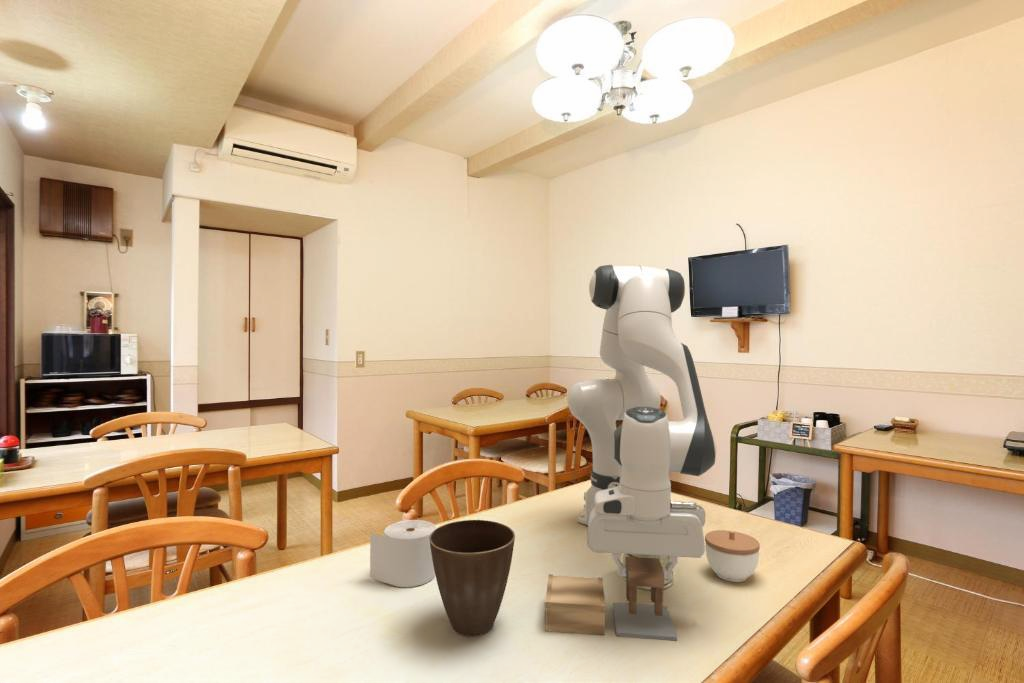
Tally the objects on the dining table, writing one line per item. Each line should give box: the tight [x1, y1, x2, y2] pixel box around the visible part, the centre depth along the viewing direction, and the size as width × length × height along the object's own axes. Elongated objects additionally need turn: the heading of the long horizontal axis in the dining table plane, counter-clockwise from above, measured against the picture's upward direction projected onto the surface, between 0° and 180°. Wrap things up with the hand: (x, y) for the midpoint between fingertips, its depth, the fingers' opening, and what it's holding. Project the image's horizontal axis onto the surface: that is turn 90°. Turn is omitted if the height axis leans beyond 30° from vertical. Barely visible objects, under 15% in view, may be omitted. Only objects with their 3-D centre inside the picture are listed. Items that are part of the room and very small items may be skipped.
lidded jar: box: [704, 529, 760, 583], centre depth 112 cm, size 11×11×9 cm
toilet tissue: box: [369, 519, 437, 588], centre depth 110 cm, size 11×12×10 cm
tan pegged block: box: [625, 557, 664, 616], centre depth 93 cm, size 6×6×8 cm
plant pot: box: [429, 519, 516, 637], centre depth 92 cm, size 15×15×16 cm
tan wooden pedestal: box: [545, 573, 606, 636], centre depth 95 cm, size 10×10×5 cm
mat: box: [611, 602, 678, 641], centre depth 94 cm, size 10×10×1 cm
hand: (643, 577), depth 93 cm, fingers closed on tan pegged block, 6 cm apart
